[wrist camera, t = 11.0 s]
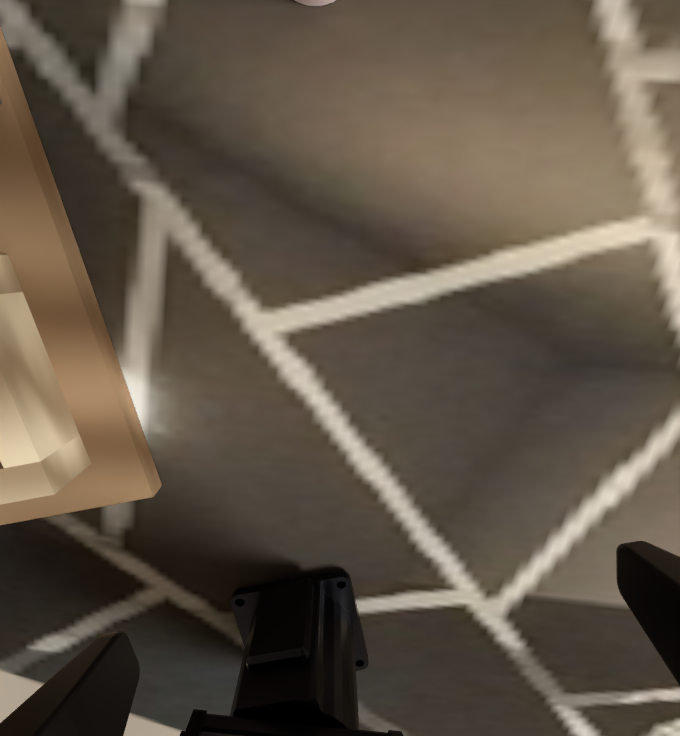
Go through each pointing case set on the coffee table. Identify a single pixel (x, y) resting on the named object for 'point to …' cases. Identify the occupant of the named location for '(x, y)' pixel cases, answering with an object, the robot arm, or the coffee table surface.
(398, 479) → the coffee table surface
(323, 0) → the smoothie
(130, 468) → the socket board
